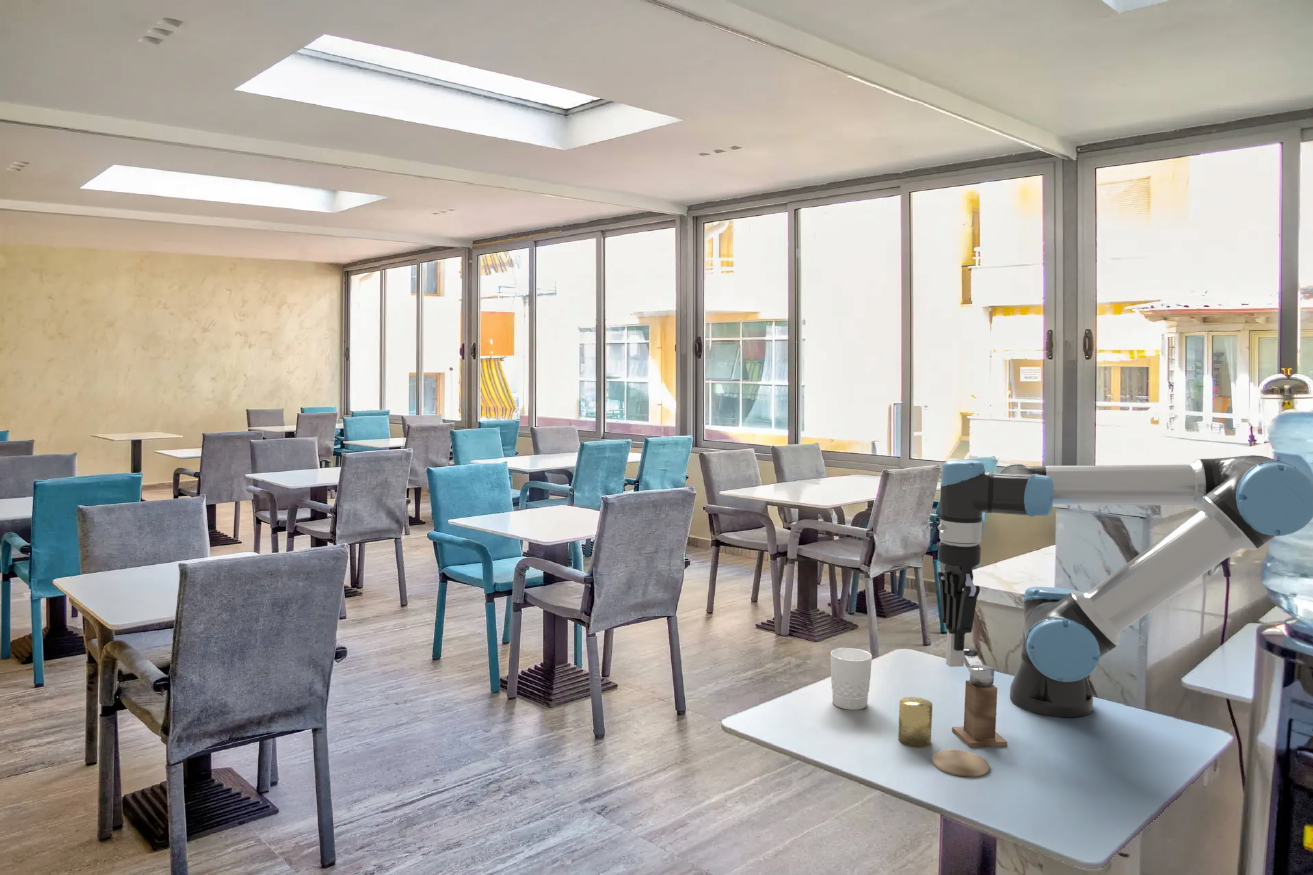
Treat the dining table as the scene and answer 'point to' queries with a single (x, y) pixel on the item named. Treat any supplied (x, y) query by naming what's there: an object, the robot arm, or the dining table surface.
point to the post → (980, 717)
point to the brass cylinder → (915, 722)
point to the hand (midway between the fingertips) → (954, 665)
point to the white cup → (850, 677)
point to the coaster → (960, 763)
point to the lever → (977, 668)
